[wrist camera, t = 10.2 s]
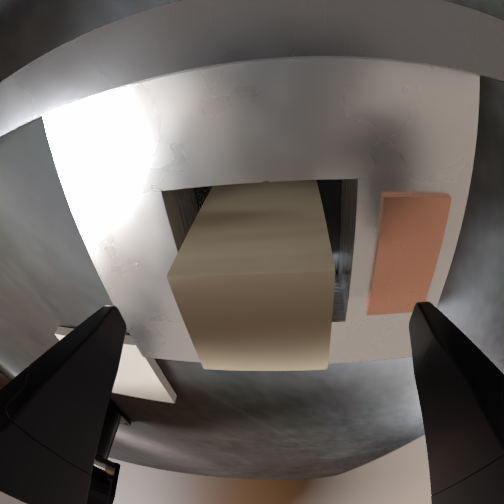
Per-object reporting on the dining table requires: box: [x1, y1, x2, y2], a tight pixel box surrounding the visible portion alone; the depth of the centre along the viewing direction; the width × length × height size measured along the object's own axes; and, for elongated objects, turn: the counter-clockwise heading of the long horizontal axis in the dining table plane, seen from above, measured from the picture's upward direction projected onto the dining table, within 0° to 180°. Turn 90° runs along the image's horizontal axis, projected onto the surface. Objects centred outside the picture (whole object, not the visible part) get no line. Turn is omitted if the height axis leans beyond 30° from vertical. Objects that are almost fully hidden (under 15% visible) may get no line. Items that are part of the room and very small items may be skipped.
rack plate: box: [0, 0, 504, 364], centre depth 10 cm, size 14×14×6 cm
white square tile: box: [54, 326, 177, 403], centre depth 21 cm, size 8×8×1 cm
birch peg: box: [166, 180, 335, 371], centre depth 11 cm, size 4×4×6 cm
